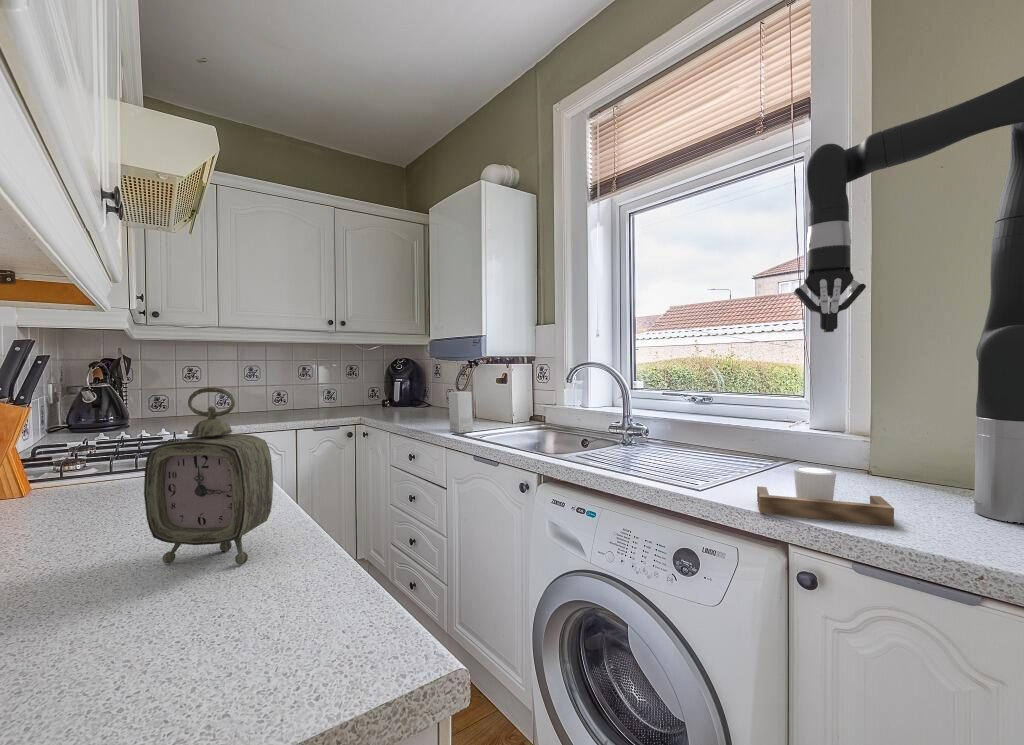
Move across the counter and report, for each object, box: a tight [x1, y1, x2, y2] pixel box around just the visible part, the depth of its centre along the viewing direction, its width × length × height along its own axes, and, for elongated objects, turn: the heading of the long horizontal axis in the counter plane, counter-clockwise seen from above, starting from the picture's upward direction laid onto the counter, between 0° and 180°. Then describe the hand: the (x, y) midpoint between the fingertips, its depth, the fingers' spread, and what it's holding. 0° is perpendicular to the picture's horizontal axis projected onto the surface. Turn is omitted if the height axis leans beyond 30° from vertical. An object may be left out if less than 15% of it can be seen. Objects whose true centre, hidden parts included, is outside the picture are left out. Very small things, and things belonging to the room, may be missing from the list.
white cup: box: [793, 466, 837, 501], centre depth 94 cm, size 7×7×7 cm
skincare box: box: [448, 390, 474, 434], centre depth 193 cm, size 8×7×16 cm
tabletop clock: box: [143, 387, 274, 565], centre depth 73 cm, size 14×9×25 cm, turn 87°
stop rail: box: [756, 485, 895, 527], centre depth 90 cm, size 20×8×3 cm, turn 67°
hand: (828, 332), depth 103 cm, fingers closed
